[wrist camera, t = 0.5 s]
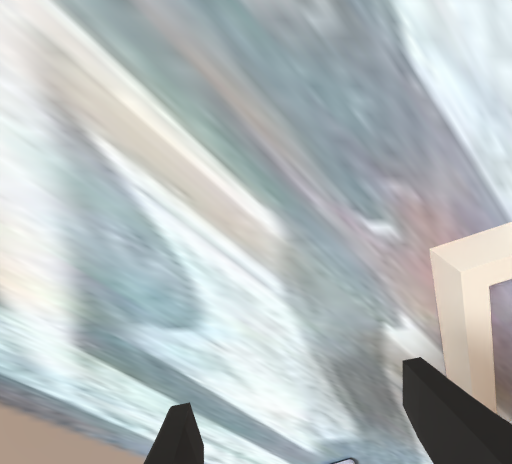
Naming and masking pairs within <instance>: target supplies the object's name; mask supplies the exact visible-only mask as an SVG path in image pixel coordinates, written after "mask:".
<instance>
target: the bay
mask: <svg viewBox="0 0 512 464" xmlns="http://www.w3.org/2000/svg"><path fill="white" fill-rule="evenodd" d="M429 251H430V259H431V266H432V273H433V281H434V288H435V295H436V302H437V310H438V317H439V324H440V332H441V339H442V346H443V354H444V361H445V368H446V375H447V378H448V379H450V380H451V381H452V382H453V383H455V384H456V385H457V386H459V387H460V388H461V389H463V390H464V391H465V392H467V393H468V394H469V395H471V396H472V397H473V398H475V399H476V400H478V401H479V402H480V403H482V404H483V405H485V406H486V407H487V408H489V409H490V410H491V411H493V412H494V413H496V414H497V407H496V391H495V375H494V359H493V343H492V327H491V310H490V294H489V286H490V285H493V284H497V283H500V282H503V281H506V280H509V279H512V222H509V223H506V224H503V225H500V226H497V227H494V228H491V229H488V230H485V231H482V232H479V233H476V234H473V235H470V236H467V237H464V238H461V239H458V240H455V241H452V242H449V243H446V244H443V245H440V246H437V247H433V248H430V249H429Z"/></svg>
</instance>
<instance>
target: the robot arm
mask: <svg viewBox="0 0 512 464" xmlns="http://www.w3.org/2000/svg"><path fill="white" fill-rule="evenodd" d="M403 407H404V409H405V411H406V413H407V415H408V418H409V420H410V422H411V424H412V426H413V428H414V430H415V432H416V434H417V436H418V438H419V440H420V442H421V443H422V445H423V447H424V448H425V450H426V452H427V453H428V455H429V457H430V458H431V460H432V462H433V463H434V464H512V424H510V423H509V422H507V421H506V420H504V419H503V418H501V417H500V416H499V415H497V414H496V413H494V412H493V411H491V410H490V409H489V408H487V407H486V406H485V405H483V404H482V403H480V402H479V401H478V400H476V399H475V398H473V397H472V396H471V395H469V394H468V393H467V392H465V391H464V390H463V389H461V388H460V387H459V386H457V385H456V384H455V383H453V382H452V381H451V380H450V379H448V378H447V377H446V376H444V375H443V374H442V373H440V372H439V371H438V370H437V369H435V368H434V367H433V366H431V365H430V364H429V363H428V362H426V361H425V360H424V359H422V358H421V357H419V358H414V359H409V360H404V361H403ZM144 464H204V444H203V441H202V438H201V435H200V432H199V429H198V426H197V423H196V420H195V417H194V414H193V411H192V408H191V405H190V403H185V404H180V405H175V406H171V408H170V409H169V411H168V413H167V415H166V418H165V420H164V422H163V424H162V427H161V429H160V431H159V433H158V435H157V437H156V440H155V442H154V444H153V446H152V448H151V450H150V452H149V454H148V456H147V458H146V460H145V462H144ZM335 464H355V463H354V461H353V460H345V461H342V462H338V463H335Z"/></svg>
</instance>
